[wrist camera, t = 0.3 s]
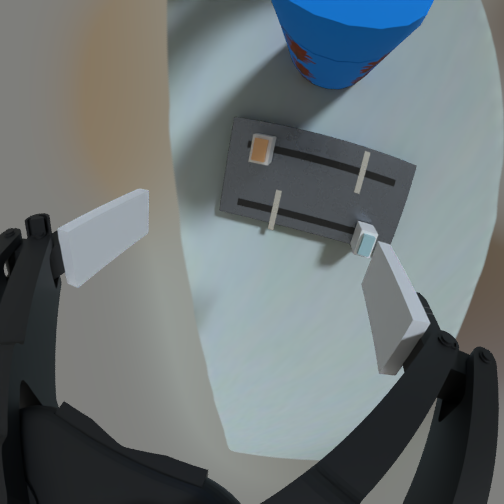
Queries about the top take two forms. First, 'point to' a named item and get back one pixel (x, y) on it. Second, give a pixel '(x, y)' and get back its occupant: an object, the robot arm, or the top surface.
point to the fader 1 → (262, 149)
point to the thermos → (345, 35)
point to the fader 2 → (363, 239)
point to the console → (315, 183)
